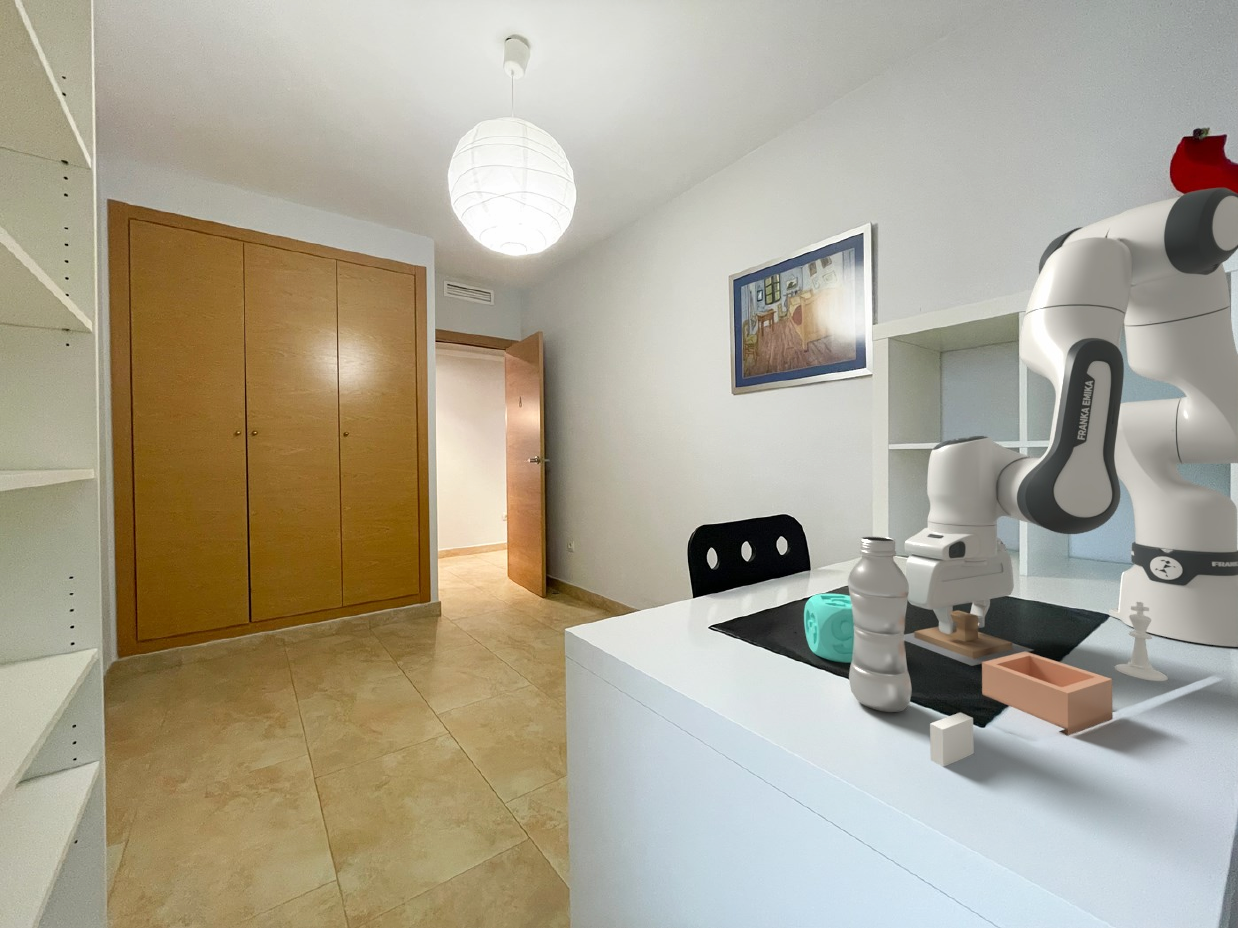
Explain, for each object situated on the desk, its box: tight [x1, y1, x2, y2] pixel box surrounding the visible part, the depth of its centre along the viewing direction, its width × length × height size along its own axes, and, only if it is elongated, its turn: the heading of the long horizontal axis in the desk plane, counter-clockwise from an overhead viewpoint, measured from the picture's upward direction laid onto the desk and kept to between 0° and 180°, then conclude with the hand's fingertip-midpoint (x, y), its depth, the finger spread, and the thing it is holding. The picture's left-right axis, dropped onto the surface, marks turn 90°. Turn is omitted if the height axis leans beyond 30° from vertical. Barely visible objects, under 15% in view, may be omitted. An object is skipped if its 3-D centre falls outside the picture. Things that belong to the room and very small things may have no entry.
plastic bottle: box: [847, 536, 913, 713], centre depth 58 cm, size 6×7×20 cm
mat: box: [904, 632, 1035, 667], centre depth 75 cm, size 14×12×1 cm
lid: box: [913, 610, 1013, 659], centre depth 75 cm, size 9×9×4 cm
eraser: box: [929, 712, 975, 768], centre depth 48 cm, size 1×5×4 cm, turn 115°
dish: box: [981, 652, 1114, 736], centre depth 56 cm, size 8×8×4 cm
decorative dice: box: [803, 593, 854, 664], centre depth 74 cm, size 8×8×8 cm
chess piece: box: [1114, 602, 1169, 682], centre depth 64 cm, size 5×5×10 cm
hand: (961, 629), depth 75 cm, fingers open, 5 cm apart
